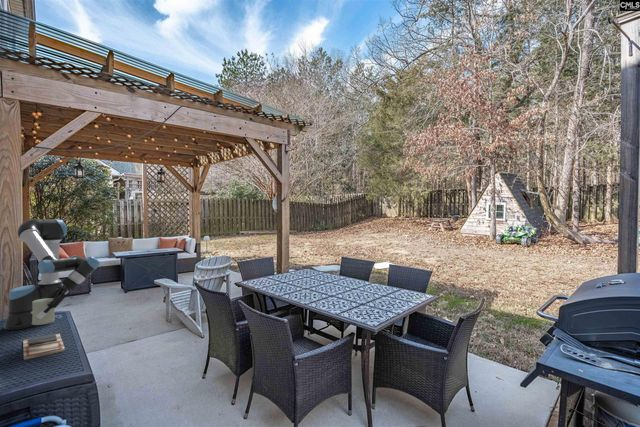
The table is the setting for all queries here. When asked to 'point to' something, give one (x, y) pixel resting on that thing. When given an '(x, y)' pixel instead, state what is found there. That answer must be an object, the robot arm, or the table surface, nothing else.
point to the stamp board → (42, 346)
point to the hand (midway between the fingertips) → (35, 316)
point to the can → (38, 307)
